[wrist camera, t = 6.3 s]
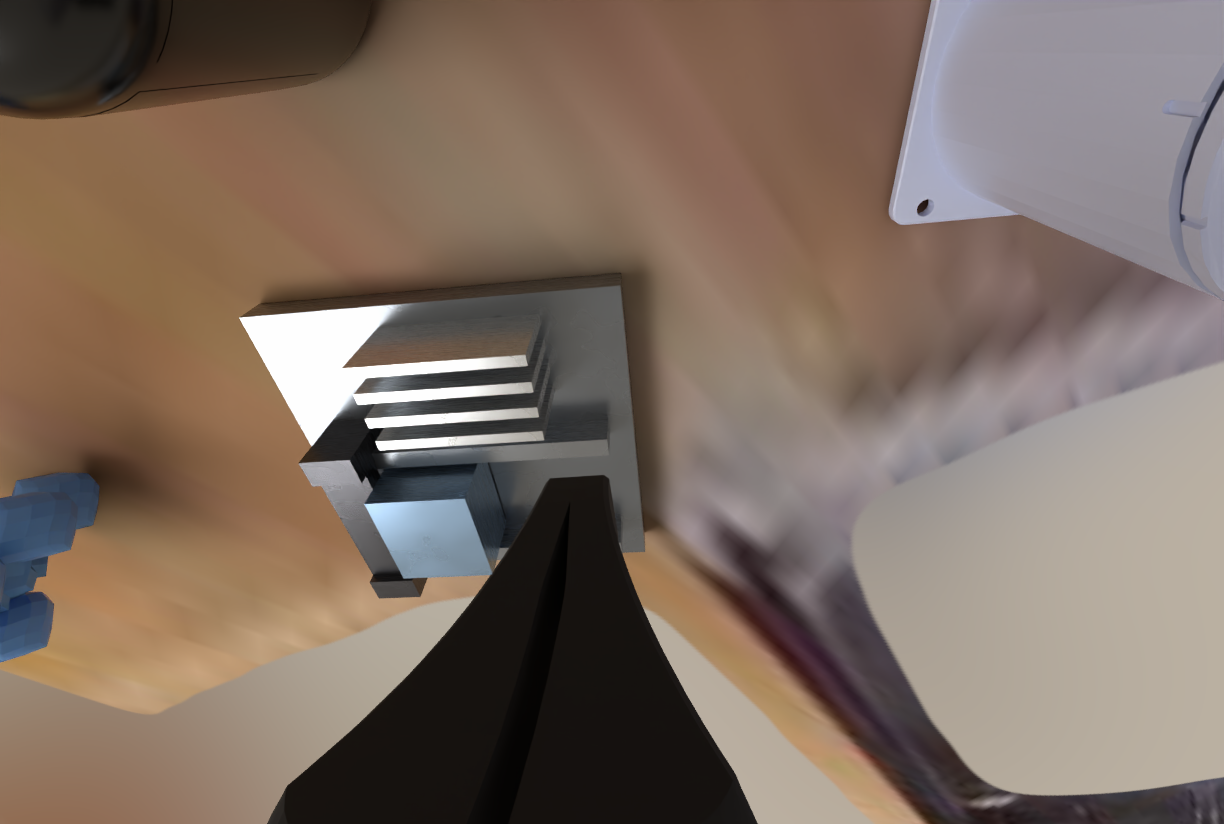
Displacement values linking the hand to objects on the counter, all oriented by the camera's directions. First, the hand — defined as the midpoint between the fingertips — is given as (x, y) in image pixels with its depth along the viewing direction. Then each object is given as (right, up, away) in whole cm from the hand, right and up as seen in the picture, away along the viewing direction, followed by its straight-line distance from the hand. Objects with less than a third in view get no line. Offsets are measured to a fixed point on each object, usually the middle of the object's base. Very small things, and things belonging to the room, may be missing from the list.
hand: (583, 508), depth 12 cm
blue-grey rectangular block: (-8, -1, +12) cm, 14 cm away
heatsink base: (-5, +1, +11) cm, 13 cm away
